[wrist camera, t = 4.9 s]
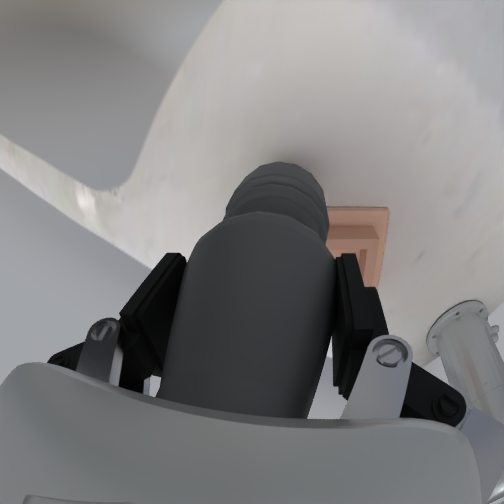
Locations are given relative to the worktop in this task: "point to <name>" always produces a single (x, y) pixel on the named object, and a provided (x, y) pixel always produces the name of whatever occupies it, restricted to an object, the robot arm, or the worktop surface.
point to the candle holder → (256, 302)
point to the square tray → (359, 237)
